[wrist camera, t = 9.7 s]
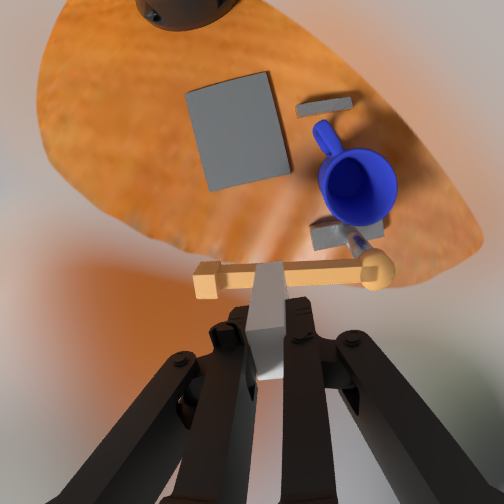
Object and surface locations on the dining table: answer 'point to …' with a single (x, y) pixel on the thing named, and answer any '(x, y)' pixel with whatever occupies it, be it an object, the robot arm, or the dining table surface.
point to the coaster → (237, 132)
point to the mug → (354, 180)
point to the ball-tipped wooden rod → (299, 273)
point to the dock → (338, 230)
